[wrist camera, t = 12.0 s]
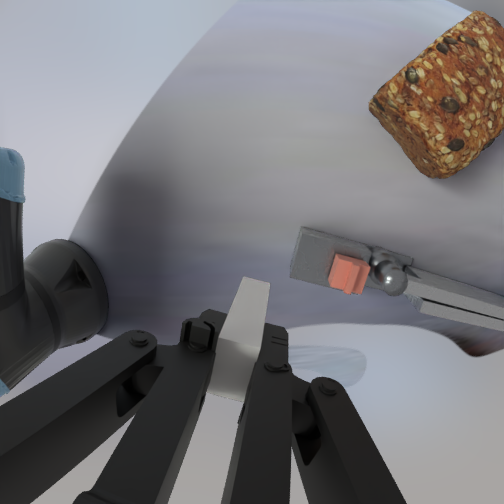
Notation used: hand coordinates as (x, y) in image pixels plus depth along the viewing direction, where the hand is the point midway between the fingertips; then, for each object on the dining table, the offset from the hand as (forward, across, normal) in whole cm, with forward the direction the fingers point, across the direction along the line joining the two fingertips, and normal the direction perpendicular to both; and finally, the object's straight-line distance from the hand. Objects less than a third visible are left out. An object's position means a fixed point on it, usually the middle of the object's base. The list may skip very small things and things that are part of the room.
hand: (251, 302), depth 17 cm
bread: (+17, +16, +21) cm, 31 cm away
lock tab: (+12, +8, 0) cm, 14 cm away
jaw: (+15, +22, +1) cm, 27 cm away
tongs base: (+16, +18, 0) cm, 24 cm away
